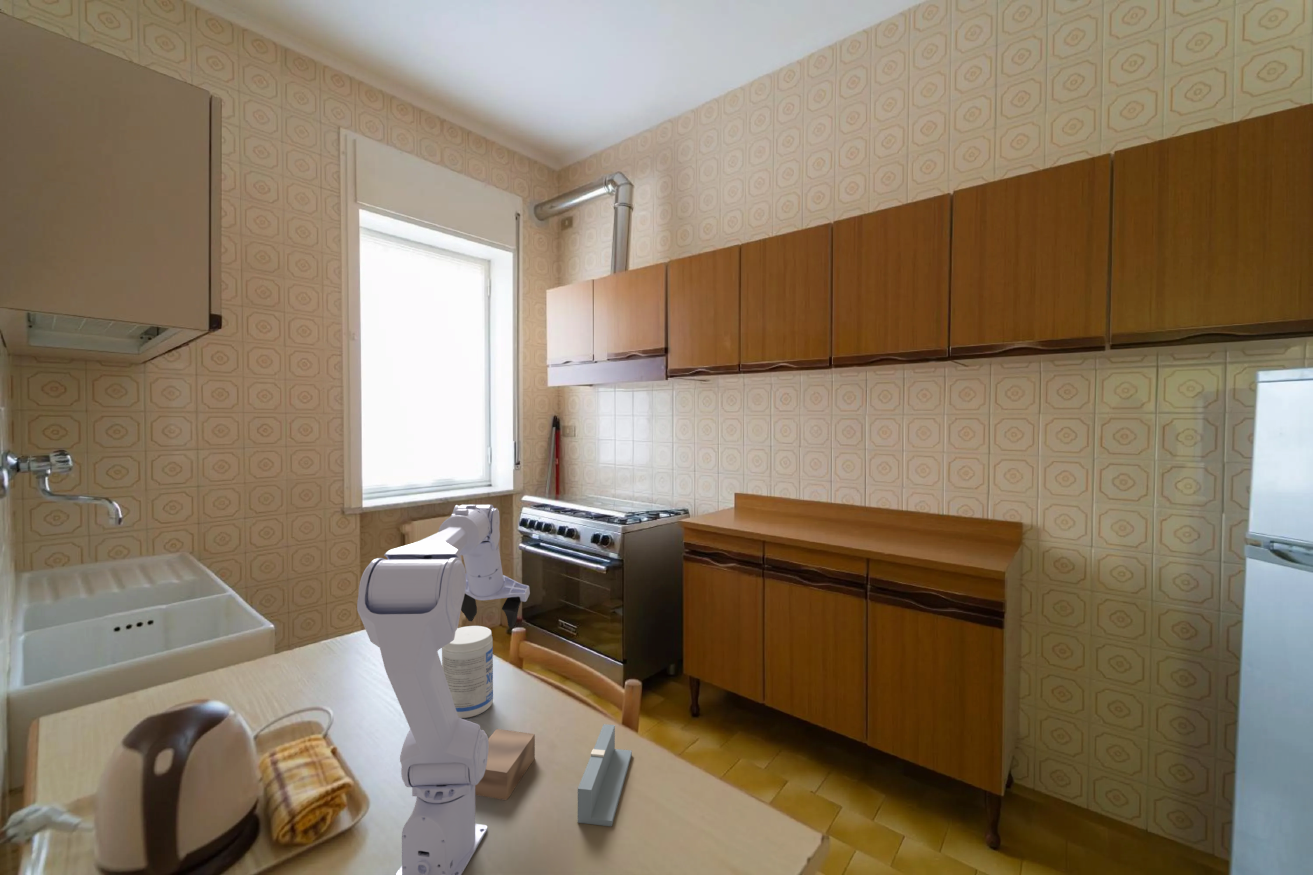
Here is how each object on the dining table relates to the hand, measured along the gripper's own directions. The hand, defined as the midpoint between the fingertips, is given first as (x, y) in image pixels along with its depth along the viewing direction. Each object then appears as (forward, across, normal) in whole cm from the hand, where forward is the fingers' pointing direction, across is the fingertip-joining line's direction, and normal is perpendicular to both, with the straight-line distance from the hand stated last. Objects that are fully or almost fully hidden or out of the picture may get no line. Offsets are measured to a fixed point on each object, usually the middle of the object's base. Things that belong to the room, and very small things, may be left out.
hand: (492, 619), depth 95 cm
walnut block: (+14, -8, +19) cm, 24 cm away
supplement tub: (+23, +7, +3) cm, 25 cm away
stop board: (+12, -25, +18) cm, 33 cm away
